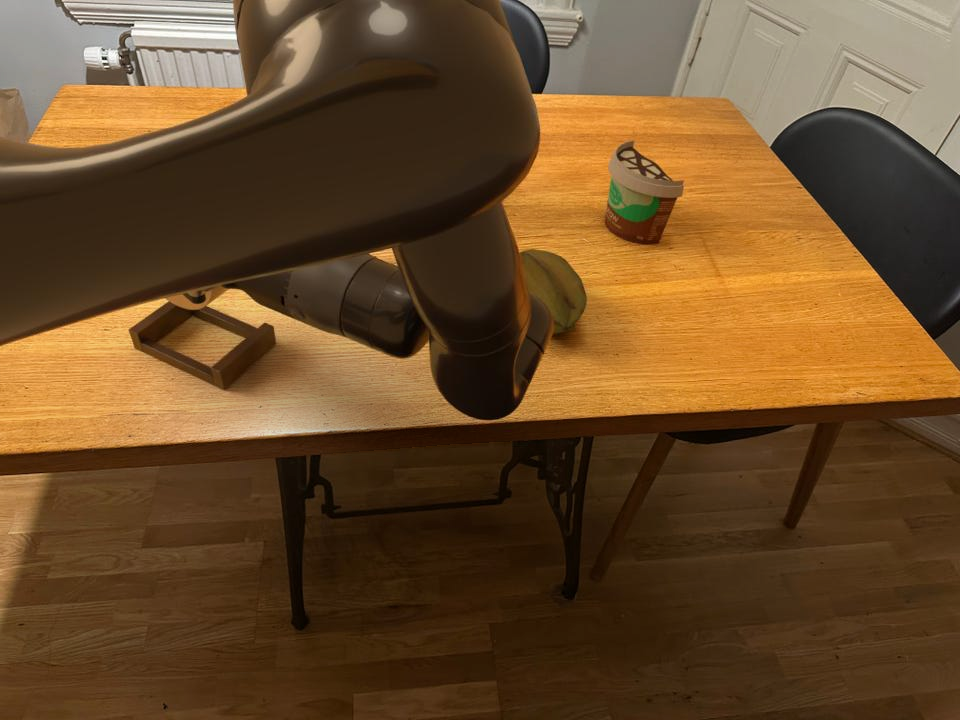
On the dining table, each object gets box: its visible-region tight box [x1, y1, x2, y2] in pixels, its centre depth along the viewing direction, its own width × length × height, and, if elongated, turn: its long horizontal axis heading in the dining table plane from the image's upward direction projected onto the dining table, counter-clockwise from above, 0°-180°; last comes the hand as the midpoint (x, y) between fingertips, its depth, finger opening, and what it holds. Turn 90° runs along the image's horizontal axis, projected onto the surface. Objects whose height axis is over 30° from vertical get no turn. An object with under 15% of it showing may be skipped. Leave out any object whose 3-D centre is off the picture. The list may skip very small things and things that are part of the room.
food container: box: [604, 139, 685, 245], centre depth 93 cm, size 12×6×10 cm, turn 25°
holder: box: [128, 300, 277, 391], centre depth 71 cm, size 8×12×2 cm
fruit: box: [519, 248, 588, 335], centre depth 79 cm, size 11×12×7 cm
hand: (161, 217), depth 63 cm, fingers closed on tape roll, 4 cm apart
